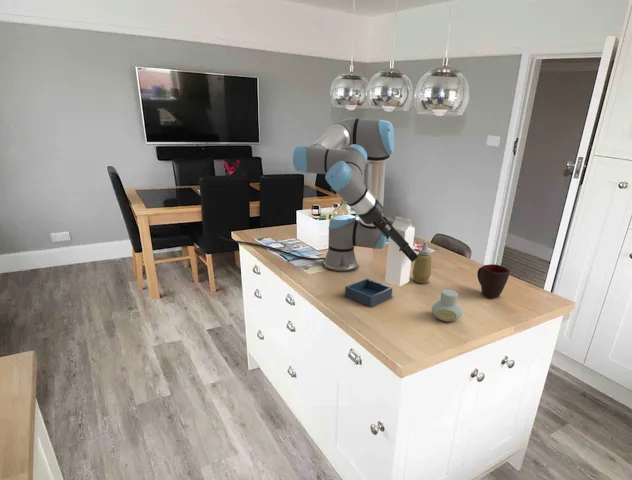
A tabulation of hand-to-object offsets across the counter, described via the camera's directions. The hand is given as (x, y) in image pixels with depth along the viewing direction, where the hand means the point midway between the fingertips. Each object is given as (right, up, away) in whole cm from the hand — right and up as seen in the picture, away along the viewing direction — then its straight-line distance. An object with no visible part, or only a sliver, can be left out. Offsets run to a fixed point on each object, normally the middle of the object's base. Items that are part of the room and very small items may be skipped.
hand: (408, 254), depth 138 cm
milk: (-4, -9, +3) cm, 10 cm away
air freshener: (+15, -22, +14) cm, 30 cm away
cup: (+36, -13, +37) cm, 53 cm away
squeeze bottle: (+9, -7, +45) cm, 46 cm away
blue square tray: (-14, -14, +26) cm, 32 cm away
